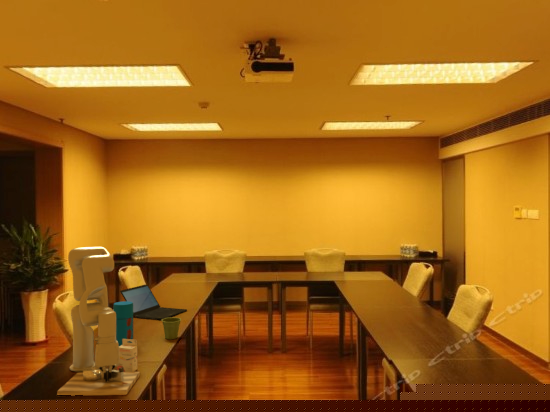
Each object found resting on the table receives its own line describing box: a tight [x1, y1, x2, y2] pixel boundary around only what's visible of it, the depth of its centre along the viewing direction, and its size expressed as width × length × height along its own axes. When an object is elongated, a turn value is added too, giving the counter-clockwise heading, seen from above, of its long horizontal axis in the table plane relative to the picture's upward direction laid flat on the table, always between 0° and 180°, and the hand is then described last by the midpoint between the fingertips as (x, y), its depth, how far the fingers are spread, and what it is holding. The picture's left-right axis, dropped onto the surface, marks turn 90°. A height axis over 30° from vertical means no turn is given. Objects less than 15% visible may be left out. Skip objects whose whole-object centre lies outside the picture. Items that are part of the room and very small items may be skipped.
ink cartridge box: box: [116, 339, 138, 372], centre depth 226 cm, size 9×5×15 cm, turn 77°
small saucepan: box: [82, 367, 124, 381], centre depth 209 cm, size 20×9×6 cm, turn 71°
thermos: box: [112, 300, 134, 346], centre depth 265 cm, size 11×11×25 cm
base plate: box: [56, 371, 141, 397], centre depth 207 cm, size 22×29×2 cm
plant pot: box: [161, 316, 182, 340], centre depth 282 cm, size 12×12×11 cm
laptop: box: [119, 284, 188, 321], centre depth 348 cm, size 33×38×19 cm
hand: (107, 380), depth 205 cm, fingers closed
